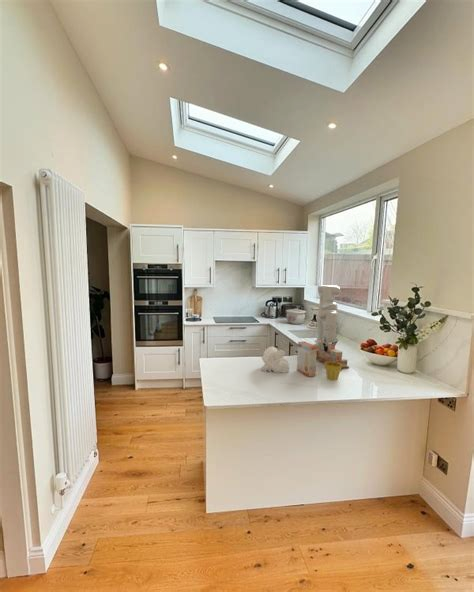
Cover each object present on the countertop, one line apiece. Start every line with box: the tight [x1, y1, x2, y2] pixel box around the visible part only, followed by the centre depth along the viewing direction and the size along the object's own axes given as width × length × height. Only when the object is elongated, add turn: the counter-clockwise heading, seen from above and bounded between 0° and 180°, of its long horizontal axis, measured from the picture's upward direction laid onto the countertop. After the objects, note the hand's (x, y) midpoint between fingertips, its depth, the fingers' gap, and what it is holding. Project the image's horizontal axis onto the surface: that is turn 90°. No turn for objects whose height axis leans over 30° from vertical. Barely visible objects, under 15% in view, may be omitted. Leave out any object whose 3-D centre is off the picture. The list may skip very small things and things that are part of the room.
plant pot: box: [324, 362, 342, 381], centre depth 194 cm, size 10×10×10 cm
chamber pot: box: [285, 307, 307, 325], centre depth 390 cm, size 28×27×21 cm
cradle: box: [316, 349, 350, 370], centre depth 227 cm, size 30×12×6 cm, turn 23°
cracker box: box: [296, 340, 318, 378], centre depth 202 cm, size 14×6×21 cm, turn 23°
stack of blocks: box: [317, 341, 343, 362], centre depth 226 cm, size 21×6×12 cm, turn 20°
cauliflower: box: [260, 346, 290, 374], centre depth 207 cm, size 19×20×20 cm
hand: (329, 350), depth 226 cm, fingers closed on stack of blocks, 6 cm apart
